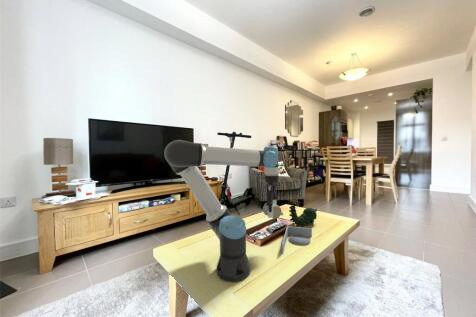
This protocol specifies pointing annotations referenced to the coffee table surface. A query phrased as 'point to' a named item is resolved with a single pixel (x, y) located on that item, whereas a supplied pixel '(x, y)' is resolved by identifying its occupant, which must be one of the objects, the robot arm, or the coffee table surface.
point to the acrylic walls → (296, 233)
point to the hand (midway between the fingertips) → (272, 214)
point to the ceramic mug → (276, 211)
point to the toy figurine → (302, 215)
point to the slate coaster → (299, 240)
